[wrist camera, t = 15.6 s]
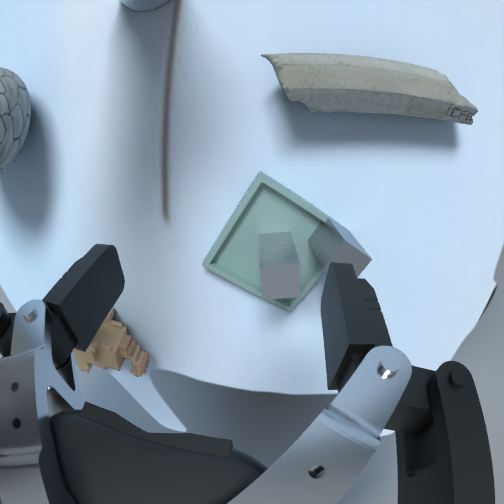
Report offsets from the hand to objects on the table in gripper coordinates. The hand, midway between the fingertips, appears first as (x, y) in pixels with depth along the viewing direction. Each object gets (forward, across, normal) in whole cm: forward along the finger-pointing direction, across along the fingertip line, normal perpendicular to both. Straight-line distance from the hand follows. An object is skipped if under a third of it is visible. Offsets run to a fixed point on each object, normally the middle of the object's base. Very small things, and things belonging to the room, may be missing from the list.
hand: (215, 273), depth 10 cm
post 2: (+28, +10, -13) cm, 33 cm away
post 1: (+27, +2, -15) cm, 31 cm away
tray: (+28, +2, -15) cm, 32 cm away
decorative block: (+32, +15, +9) cm, 37 cm away
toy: (+23, -30, -36) cm, 52 cm away
